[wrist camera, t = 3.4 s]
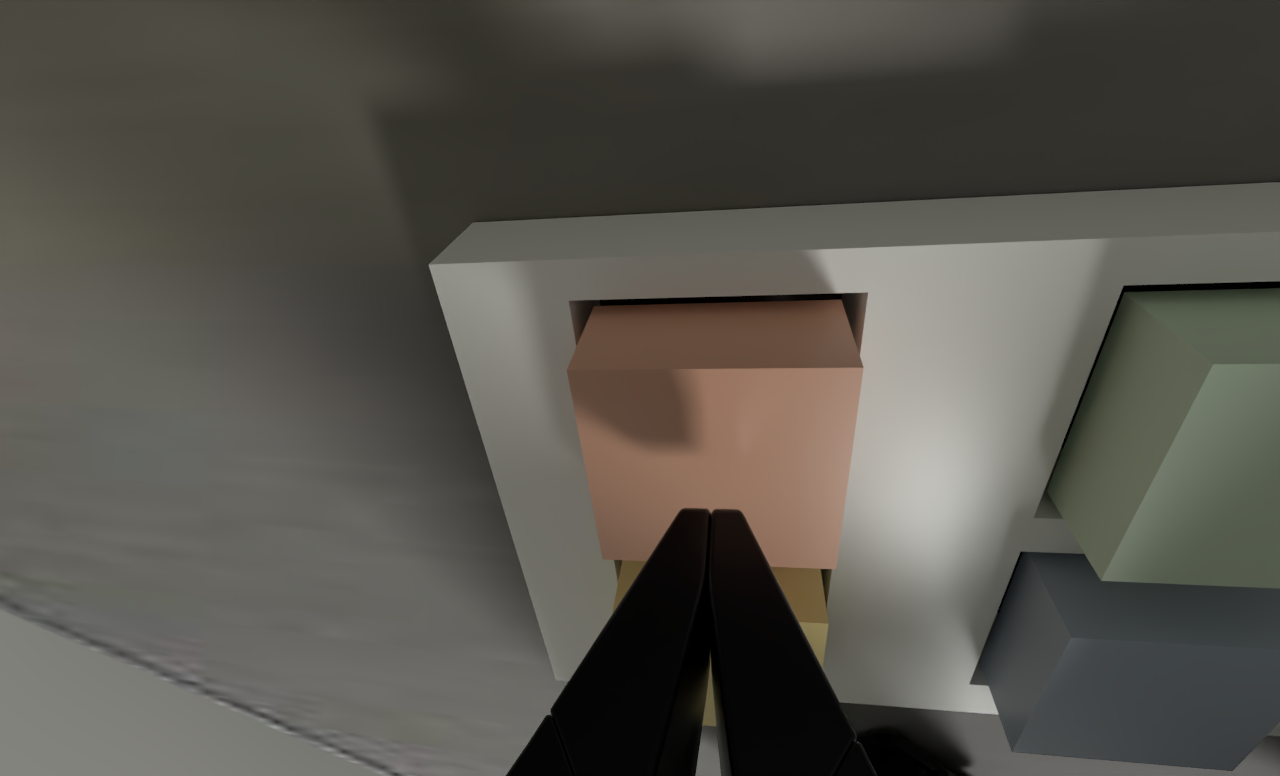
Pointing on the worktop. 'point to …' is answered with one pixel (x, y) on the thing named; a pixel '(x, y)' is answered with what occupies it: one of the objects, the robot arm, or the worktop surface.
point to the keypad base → (889, 397)
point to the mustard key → (800, 592)
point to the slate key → (1133, 666)
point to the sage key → (1180, 443)
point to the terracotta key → (719, 421)
